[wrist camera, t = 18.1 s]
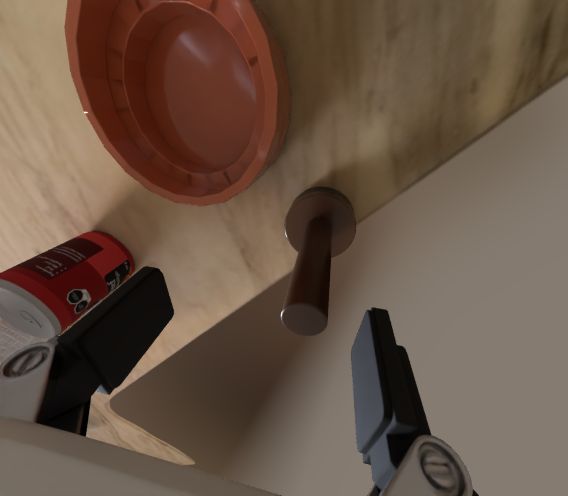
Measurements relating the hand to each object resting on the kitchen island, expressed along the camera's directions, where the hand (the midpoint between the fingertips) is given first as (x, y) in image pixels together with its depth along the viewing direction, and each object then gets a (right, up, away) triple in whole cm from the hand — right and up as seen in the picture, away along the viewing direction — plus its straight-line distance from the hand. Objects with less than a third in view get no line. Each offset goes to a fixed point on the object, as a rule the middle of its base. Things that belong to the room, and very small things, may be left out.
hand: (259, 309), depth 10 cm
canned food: (-23, +2, +21) cm, 32 cm away
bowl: (-5, +15, +9) cm, 18 cm away
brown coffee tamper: (+5, +6, +12) cm, 14 cm away
